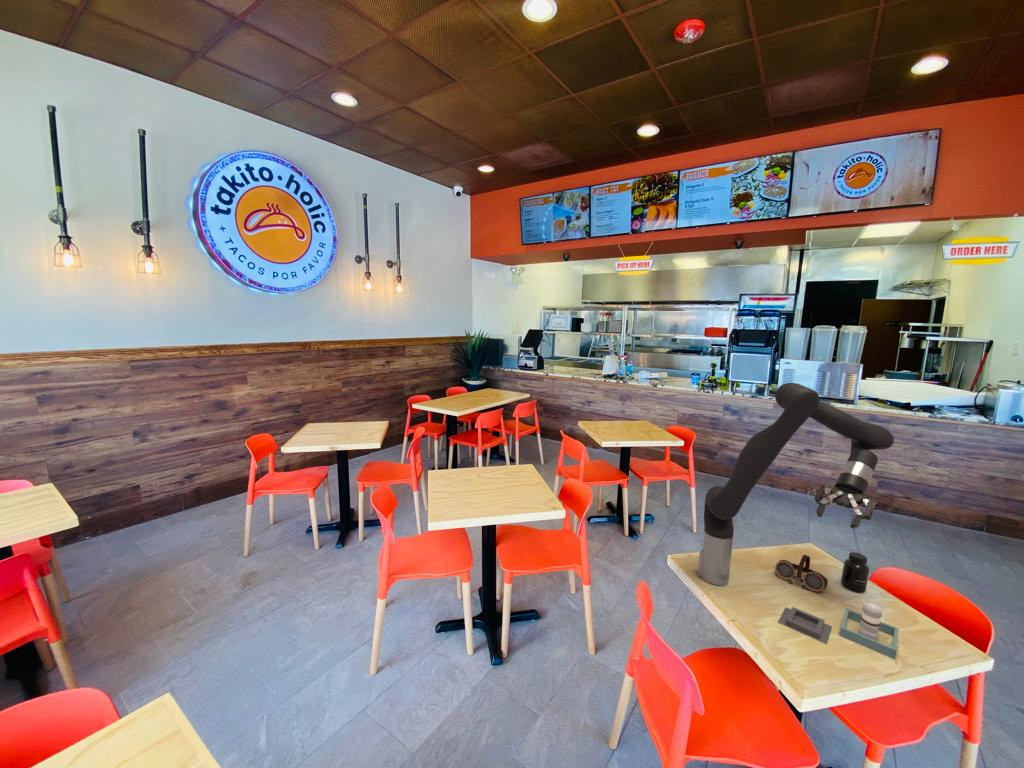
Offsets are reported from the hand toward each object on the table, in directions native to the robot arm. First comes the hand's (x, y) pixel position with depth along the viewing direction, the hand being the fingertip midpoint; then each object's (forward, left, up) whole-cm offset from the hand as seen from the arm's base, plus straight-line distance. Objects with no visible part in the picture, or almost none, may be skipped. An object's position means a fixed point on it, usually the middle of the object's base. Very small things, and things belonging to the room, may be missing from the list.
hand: (835, 521), depth 129 cm
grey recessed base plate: (-2, -14, -30) cm, 33 cm away
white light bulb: (+11, -6, -29) cm, 32 cm away
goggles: (-8, +15, -30) cm, 35 cm away
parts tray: (+12, -6, -30) cm, 33 cm away
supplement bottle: (+6, +22, -30) cm, 38 cm away
